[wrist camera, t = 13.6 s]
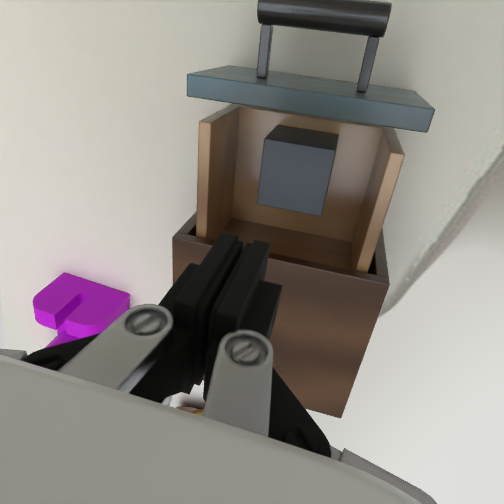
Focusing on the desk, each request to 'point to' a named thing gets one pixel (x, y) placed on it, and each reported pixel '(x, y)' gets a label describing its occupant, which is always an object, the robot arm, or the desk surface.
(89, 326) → the tape dispenser
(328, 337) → the cabinet
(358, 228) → the drawer
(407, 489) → the robot arm
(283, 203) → the block
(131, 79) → the desk surface
